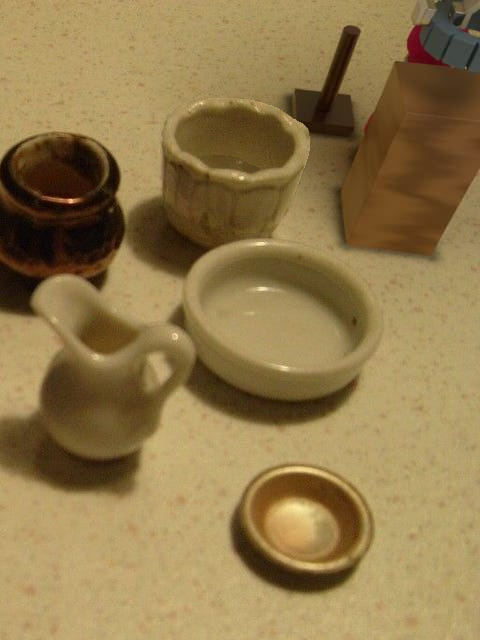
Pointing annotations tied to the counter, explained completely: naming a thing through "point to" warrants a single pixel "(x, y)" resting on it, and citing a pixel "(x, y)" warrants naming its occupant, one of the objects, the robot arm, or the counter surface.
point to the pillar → (414, 159)
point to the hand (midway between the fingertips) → (436, 24)
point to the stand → (329, 94)
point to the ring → (452, 39)
